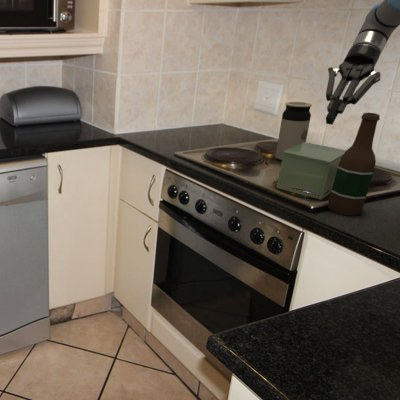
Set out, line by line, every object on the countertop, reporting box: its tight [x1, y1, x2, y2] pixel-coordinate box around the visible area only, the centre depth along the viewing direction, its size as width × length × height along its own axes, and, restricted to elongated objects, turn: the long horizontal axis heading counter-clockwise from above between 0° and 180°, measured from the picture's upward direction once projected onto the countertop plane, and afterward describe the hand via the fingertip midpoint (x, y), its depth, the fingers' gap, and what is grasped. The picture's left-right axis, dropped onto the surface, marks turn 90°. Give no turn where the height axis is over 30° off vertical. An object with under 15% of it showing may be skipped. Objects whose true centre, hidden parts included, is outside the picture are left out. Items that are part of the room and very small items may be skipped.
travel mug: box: [275, 101, 313, 161], centre depth 153 cm, size 8×8×18 cm
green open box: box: [275, 155, 341, 201], centre depth 130 cm, size 14×12×10 cm
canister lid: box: [283, 141, 347, 165], centre depth 128 cm, size 14×12×1 cm
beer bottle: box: [327, 112, 381, 217], centre depth 114 cm, size 8×8×24 cm
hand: (329, 121), depth 128 cm, fingers closed
